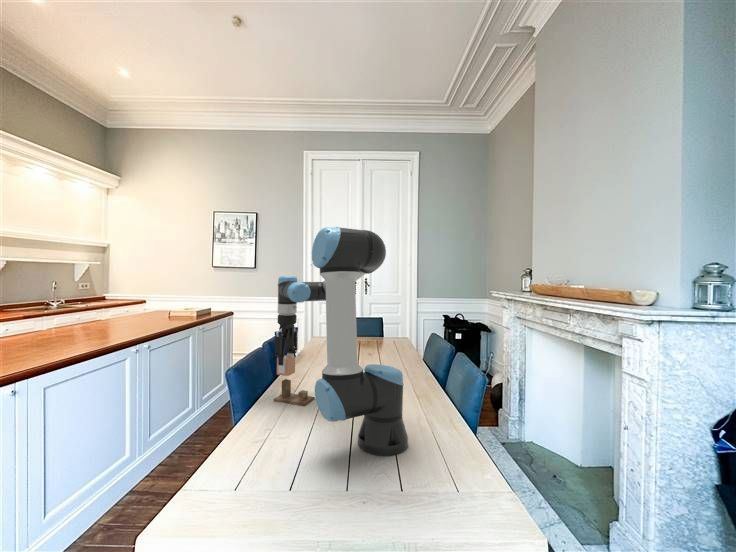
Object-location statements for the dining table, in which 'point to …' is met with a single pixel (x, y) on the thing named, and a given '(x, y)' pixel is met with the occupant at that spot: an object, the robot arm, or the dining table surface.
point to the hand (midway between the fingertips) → (286, 370)
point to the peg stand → (293, 395)
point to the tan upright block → (287, 366)
